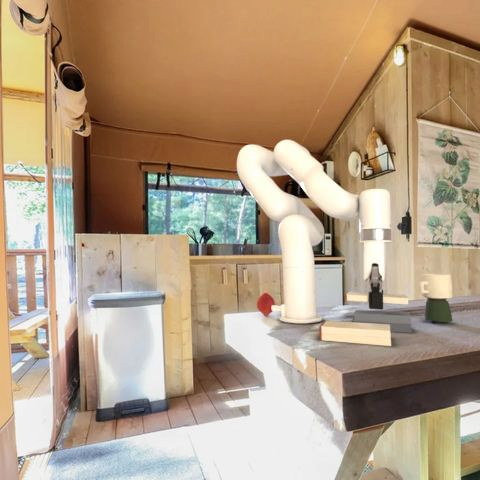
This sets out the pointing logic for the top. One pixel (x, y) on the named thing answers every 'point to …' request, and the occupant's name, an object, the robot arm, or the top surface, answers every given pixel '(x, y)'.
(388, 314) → the grey rectangular block
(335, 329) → the cream rectangular block
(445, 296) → the character mug
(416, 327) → the top surface
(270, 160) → the robot arm
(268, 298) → the onion
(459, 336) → the top surface
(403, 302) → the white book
